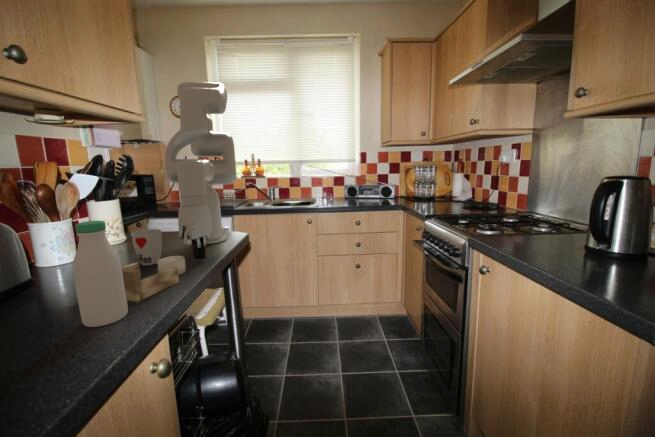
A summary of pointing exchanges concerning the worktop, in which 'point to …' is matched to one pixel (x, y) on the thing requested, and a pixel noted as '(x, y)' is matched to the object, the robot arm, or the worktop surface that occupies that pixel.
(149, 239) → the cup
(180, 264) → the cream egg shape
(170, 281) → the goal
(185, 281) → the worktop surface
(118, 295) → the milk bottle
